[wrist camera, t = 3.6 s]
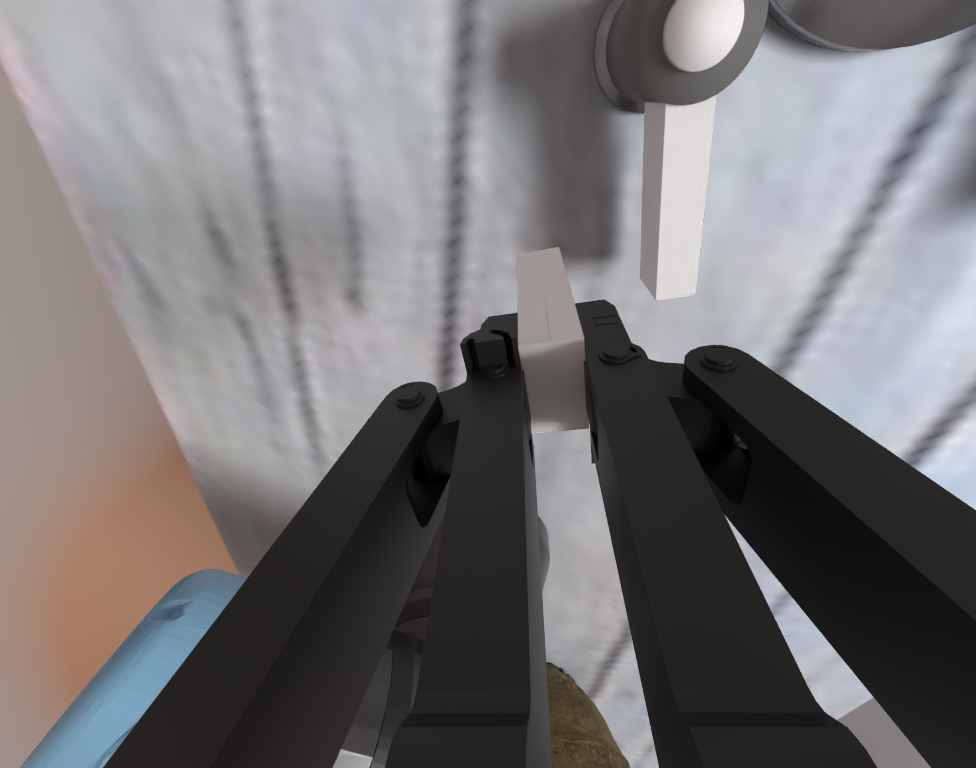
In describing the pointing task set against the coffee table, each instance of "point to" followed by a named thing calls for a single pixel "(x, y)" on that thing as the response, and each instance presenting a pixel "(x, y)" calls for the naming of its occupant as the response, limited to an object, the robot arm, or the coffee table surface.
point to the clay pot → (578, 727)
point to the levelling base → (831, 28)
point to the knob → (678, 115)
